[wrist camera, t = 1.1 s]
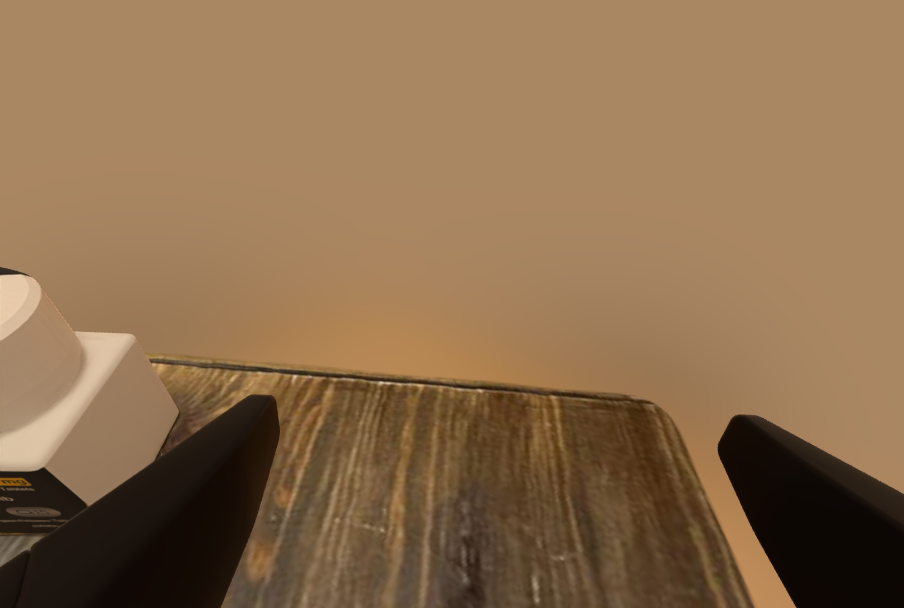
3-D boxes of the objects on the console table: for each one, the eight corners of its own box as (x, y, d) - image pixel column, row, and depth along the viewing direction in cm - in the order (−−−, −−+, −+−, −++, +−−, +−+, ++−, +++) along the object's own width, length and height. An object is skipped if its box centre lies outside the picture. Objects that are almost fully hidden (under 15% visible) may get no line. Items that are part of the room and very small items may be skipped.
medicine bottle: (-43, 537, 20) (-340, 381, 12) (57, 408, 25) (-99, 240, 17) (118, 535, 20) (-57, 389, 12) (182, 410, 26) (89, 251, 18)
